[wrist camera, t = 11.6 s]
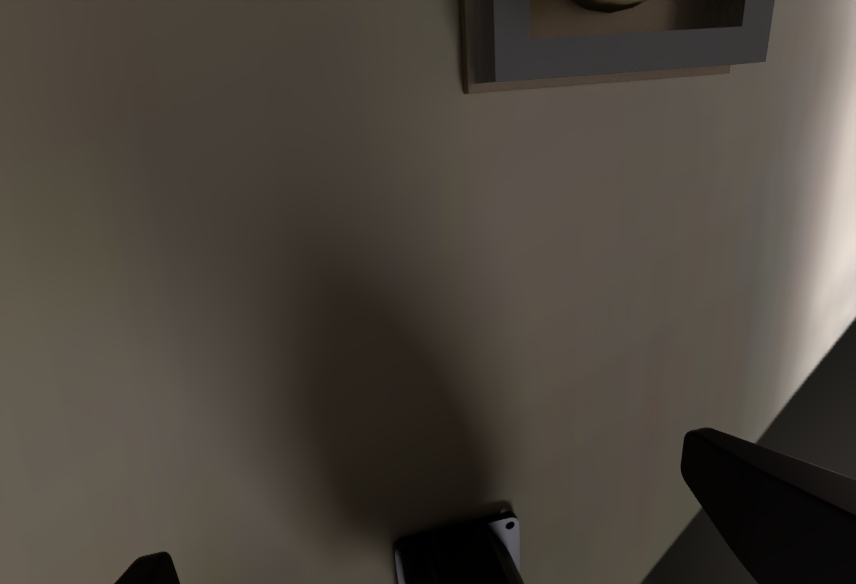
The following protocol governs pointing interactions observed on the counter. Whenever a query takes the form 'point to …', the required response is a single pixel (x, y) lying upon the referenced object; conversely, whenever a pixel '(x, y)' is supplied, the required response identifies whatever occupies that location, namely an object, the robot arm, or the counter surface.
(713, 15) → the socket block
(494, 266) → the counter surface
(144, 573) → the robot arm
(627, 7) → the cork
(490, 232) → the counter surface
